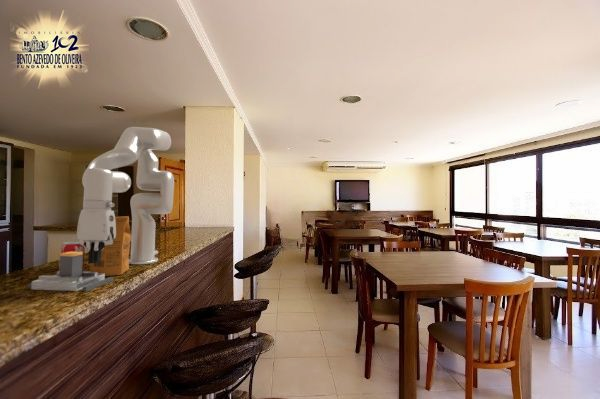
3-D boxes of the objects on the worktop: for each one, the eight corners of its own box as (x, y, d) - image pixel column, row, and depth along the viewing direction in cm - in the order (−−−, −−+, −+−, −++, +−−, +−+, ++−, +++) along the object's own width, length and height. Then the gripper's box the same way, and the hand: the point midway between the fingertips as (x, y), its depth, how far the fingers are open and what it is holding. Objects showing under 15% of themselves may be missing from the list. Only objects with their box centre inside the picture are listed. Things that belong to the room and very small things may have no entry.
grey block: (69, 274, 93) (70, 251, 94) (81, 275, 93) (82, 251, 94) (59, 277, 89) (60, 253, 90) (71, 278, 89) (72, 253, 90)
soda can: (69, 278, 98) (71, 244, 99) (53, 276, 100) (55, 243, 100) (88, 273, 105) (89, 241, 106) (73, 272, 107) (74, 240, 107)
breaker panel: (65, 279, 98) (65, 269, 98) (104, 280, 97) (105, 270, 97) (31, 289, 86) (31, 278, 86) (76, 290, 85) (76, 279, 85)
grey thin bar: (110, 280, 97) (110, 277, 97) (113, 280, 97) (113, 277, 97) (82, 291, 85) (82, 287, 85) (86, 291, 85) (86, 287, 85)
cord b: (56, 279, 97) (56, 276, 97) (60, 279, 97) (60, 276, 97) (27, 288, 87) (28, 284, 87) (31, 288, 87) (31, 284, 87)
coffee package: (98, 270, 111) (101, 215, 111) (132, 270, 113) (135, 215, 113) (83, 277, 101) (86, 216, 101) (120, 276, 103) (123, 216, 103)
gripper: (127, 206, 95) (124, 261, 94) (84, 205, 96) (81, 259, 95) (112, 206, 88) (108, 265, 87) (65, 205, 88) (61, 264, 87)
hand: (94, 262), depth 91 cm, fingers closed
